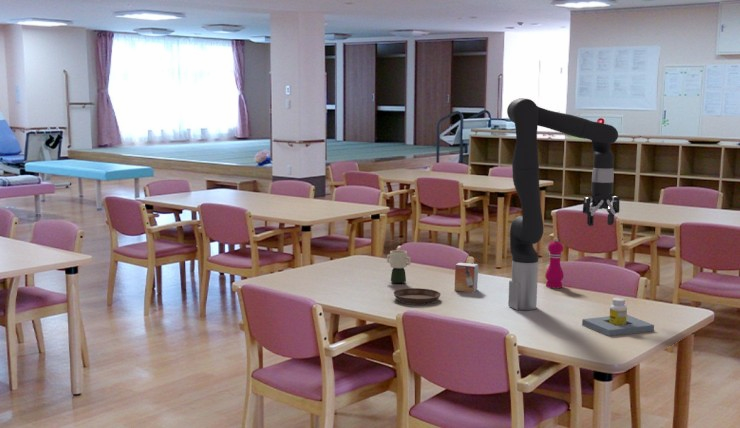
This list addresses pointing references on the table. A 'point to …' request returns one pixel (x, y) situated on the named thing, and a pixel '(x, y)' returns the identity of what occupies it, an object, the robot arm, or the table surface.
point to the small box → (466, 277)
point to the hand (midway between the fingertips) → (600, 225)
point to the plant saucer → (417, 296)
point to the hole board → (611, 330)
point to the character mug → (398, 265)
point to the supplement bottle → (618, 312)
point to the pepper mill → (554, 265)
